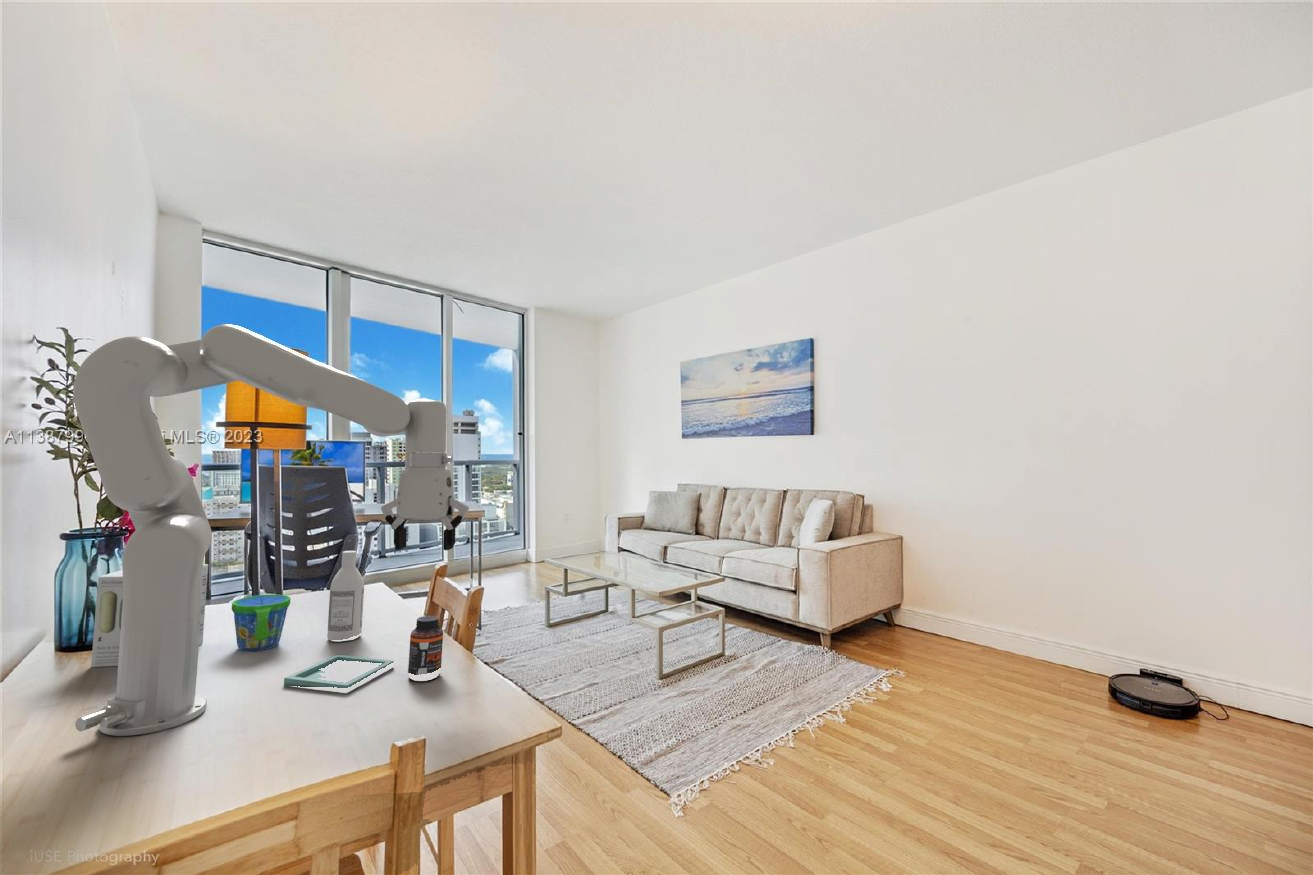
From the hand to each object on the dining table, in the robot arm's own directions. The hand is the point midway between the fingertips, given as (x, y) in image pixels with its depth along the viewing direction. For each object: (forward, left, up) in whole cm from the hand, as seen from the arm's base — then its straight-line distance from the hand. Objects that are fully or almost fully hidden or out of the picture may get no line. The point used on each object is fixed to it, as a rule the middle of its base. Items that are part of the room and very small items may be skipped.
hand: (424, 549), depth 111 cm
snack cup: (+5, +42, -25) cm, 49 cm away
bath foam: (+15, +29, -25) cm, 41 cm away
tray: (-5, +13, -24) cm, 28 cm away
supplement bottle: (-1, -2, -25) cm, 25 cm away
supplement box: (-5, +58, -25) cm, 63 cm away
